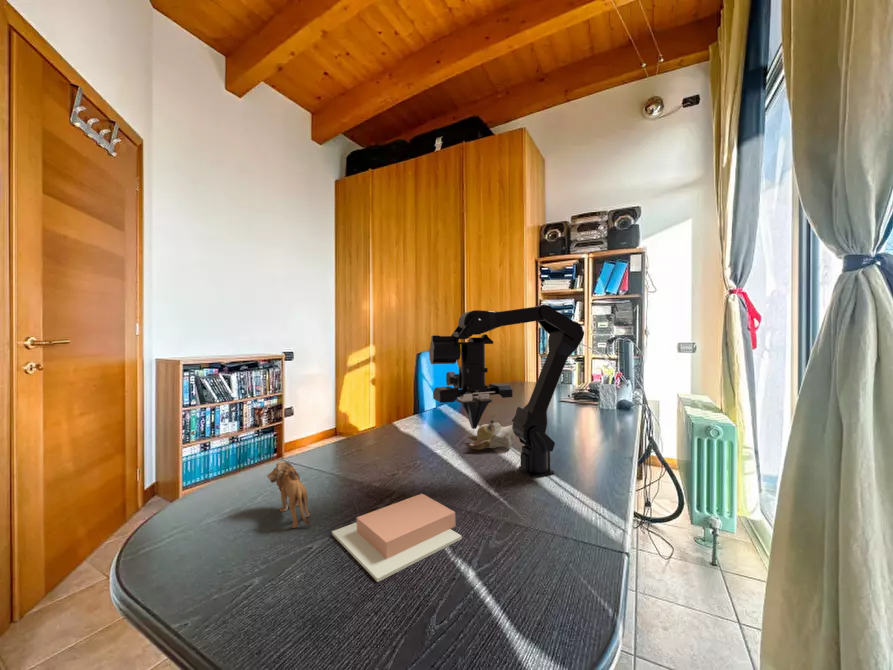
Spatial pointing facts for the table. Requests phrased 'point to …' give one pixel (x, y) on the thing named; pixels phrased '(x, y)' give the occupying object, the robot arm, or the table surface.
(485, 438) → the ceramic sculpture
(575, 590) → the table surface
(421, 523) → the terracotta board
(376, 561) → the rubber mat
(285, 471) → the lion figurine
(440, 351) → the robot arm
